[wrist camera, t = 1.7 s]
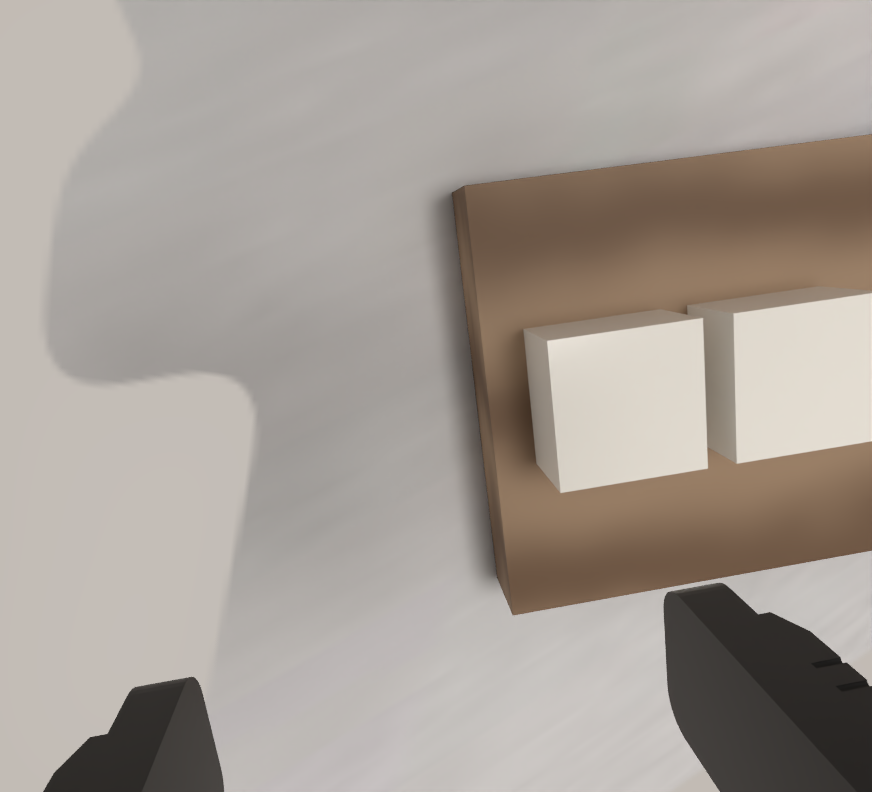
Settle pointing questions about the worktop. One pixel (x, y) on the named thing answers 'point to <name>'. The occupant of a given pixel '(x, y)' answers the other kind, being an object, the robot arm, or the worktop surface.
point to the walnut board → (644, 291)
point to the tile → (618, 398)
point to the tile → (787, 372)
